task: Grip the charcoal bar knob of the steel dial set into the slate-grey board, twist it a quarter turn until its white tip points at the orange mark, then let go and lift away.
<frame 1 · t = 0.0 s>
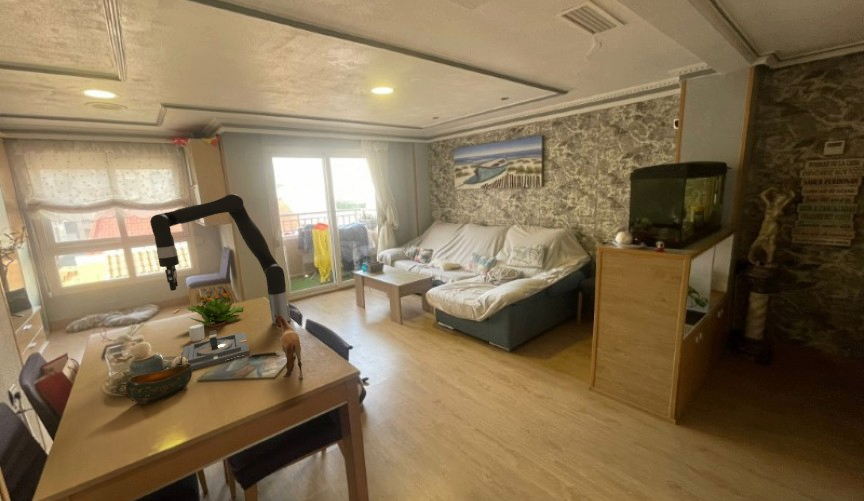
hand: (174, 288, 169), 29 cm above the table, tool pointing down, fingers open, 8 cm apart
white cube: (198, 339, 181), on the table
dark green oval bowl: (160, 396, 130), on the table
potted flower: (215, 324, 200), on the table
horse figurine: (286, 372, 141), on the table
dial: (214, 340, 162), point 6 cm above the table, hinge at 0.0°
dial board: (216, 352, 163), on the table
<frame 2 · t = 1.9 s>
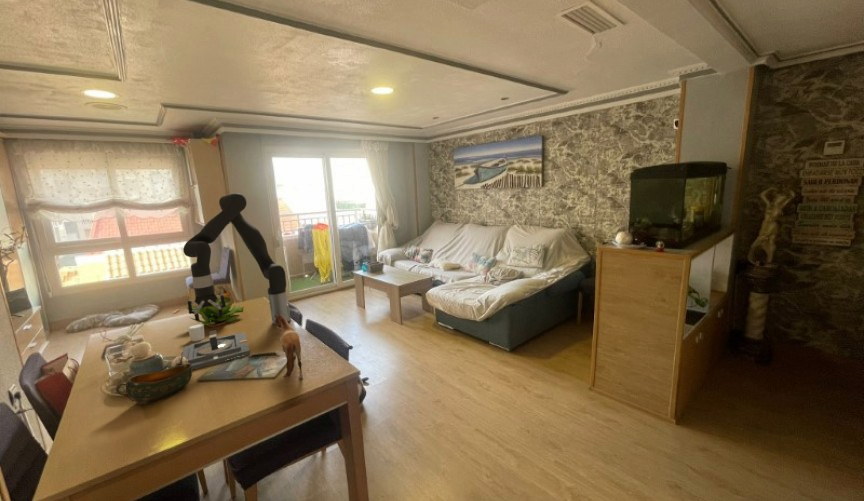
hand: (209, 319, 160), 17 cm above the table, tool pointing down, fingers open, 8 cm apart
nothing on the table moved.
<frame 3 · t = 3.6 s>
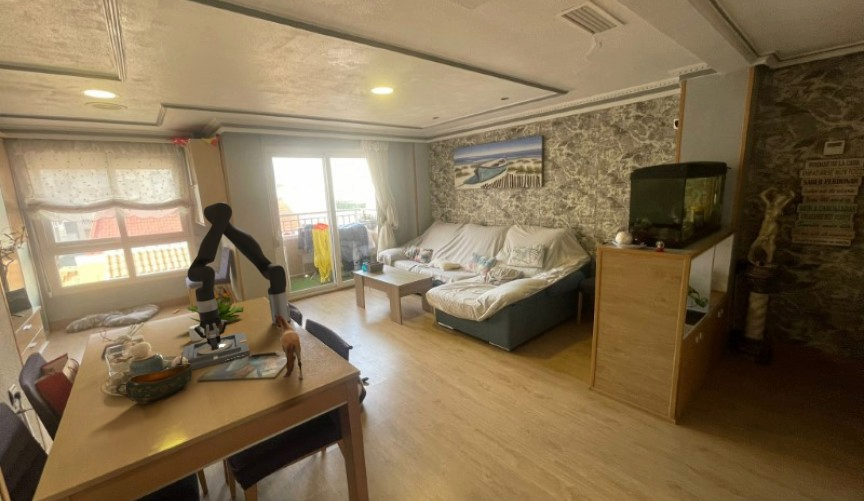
hand: (214, 343, 162), 4 cm above the table, tool pointing down, fingers closed on dial, 2 cm apart
dial: (214, 340, 162), point 6 cm above the table, hinge at 0.0°, touching gripper
everything else where it was.
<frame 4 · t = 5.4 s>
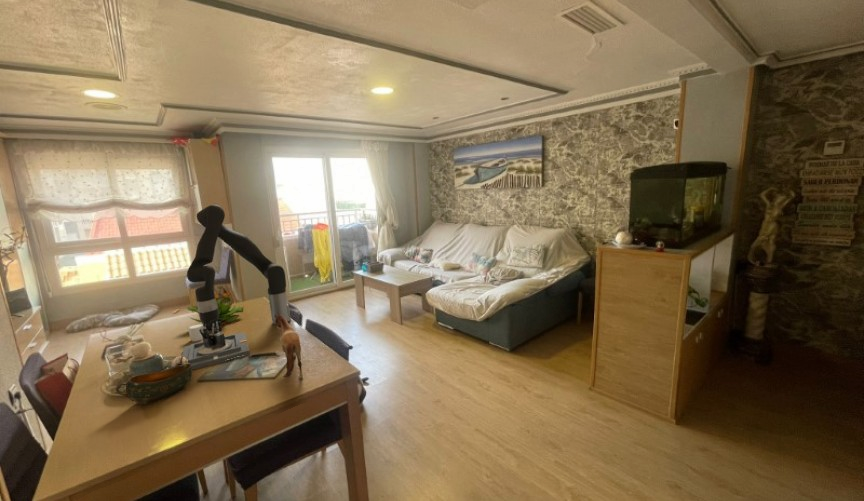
hand: (214, 343, 162), 4 cm above the table, tool pointing down, fingers closed on dial, 3 cm apart
dial: (214, 340, 162), point 6 cm above the table, hinge at 43.5°, touching gripper
everything else where it was.
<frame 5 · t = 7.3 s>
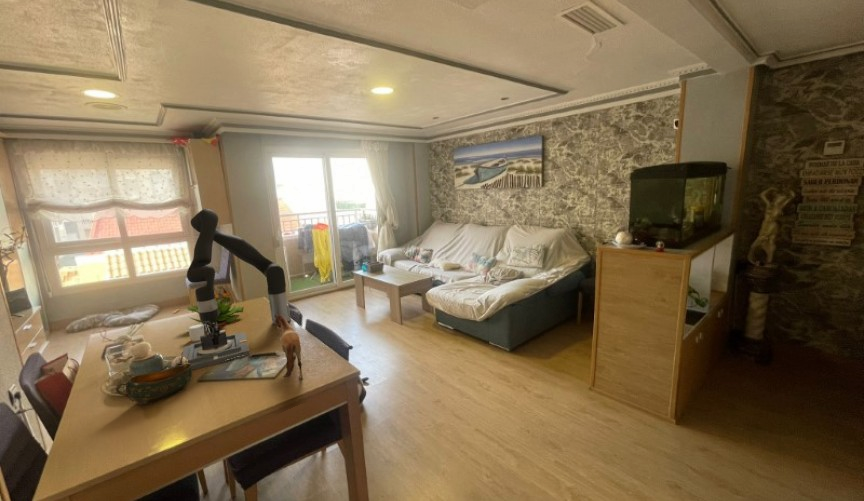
hand: (214, 343, 162), 4 cm above the table, tool pointing down, fingers closed on dial, 3 cm apart
dial: (214, 340, 162), point 6 cm above the table, hinge at 93.8°, touching gripper
everything else where it was.
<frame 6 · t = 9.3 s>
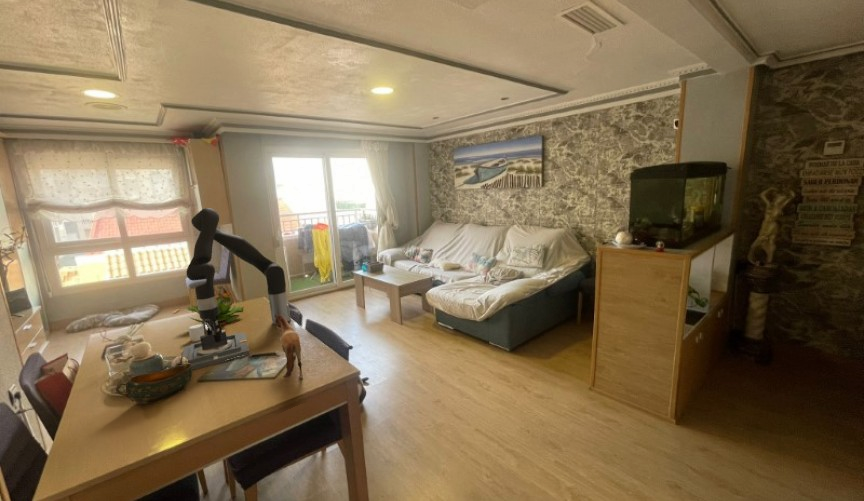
hand: (214, 339, 162), 6 cm above the table, tool pointing down, fingers open, 8 cm apart
dial: (214, 340, 162), point 6 cm above the table, hinge at 94.3°
everything else where it was.
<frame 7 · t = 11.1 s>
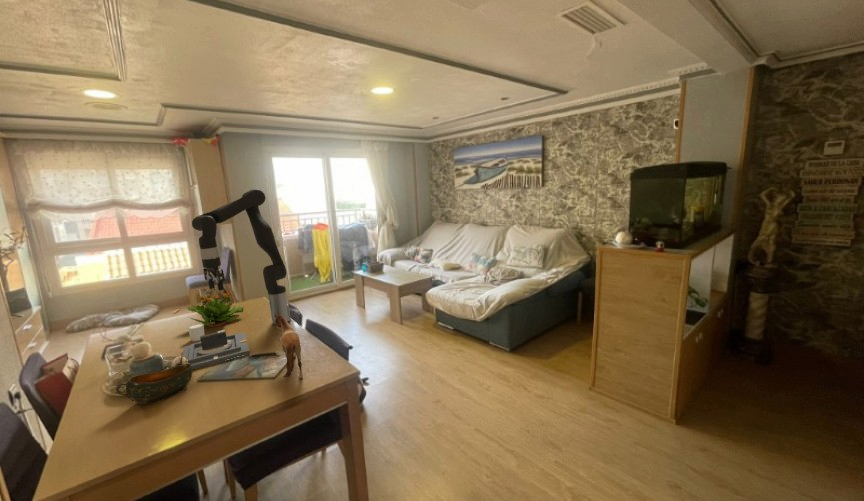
hand: (216, 289, 171), 27 cm above the table, tool pointing down, fingers open, 8 cm apart
nothing on the table moved.
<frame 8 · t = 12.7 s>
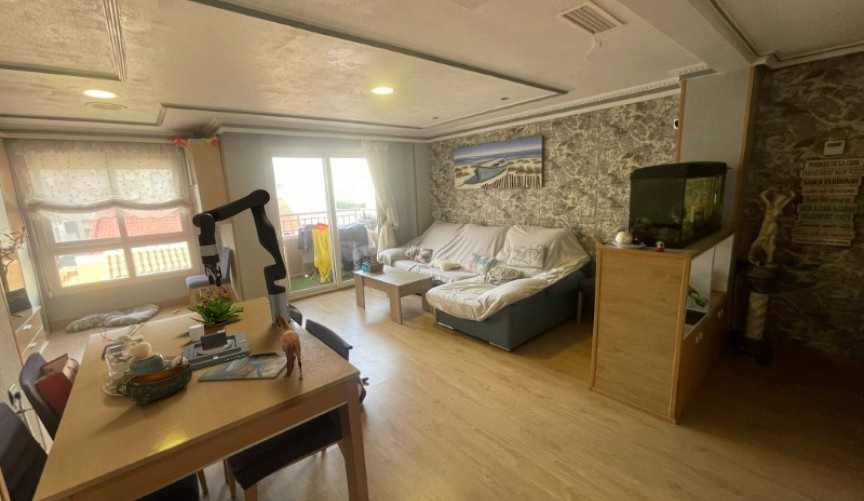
hand: (215, 285, 175), 28 cm above the table, tool pointing down, fingers open, 8 cm apart
nothing on the table moved.
at the end: dial at +94° (first picture: +0°); the gripper is holding nothing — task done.
